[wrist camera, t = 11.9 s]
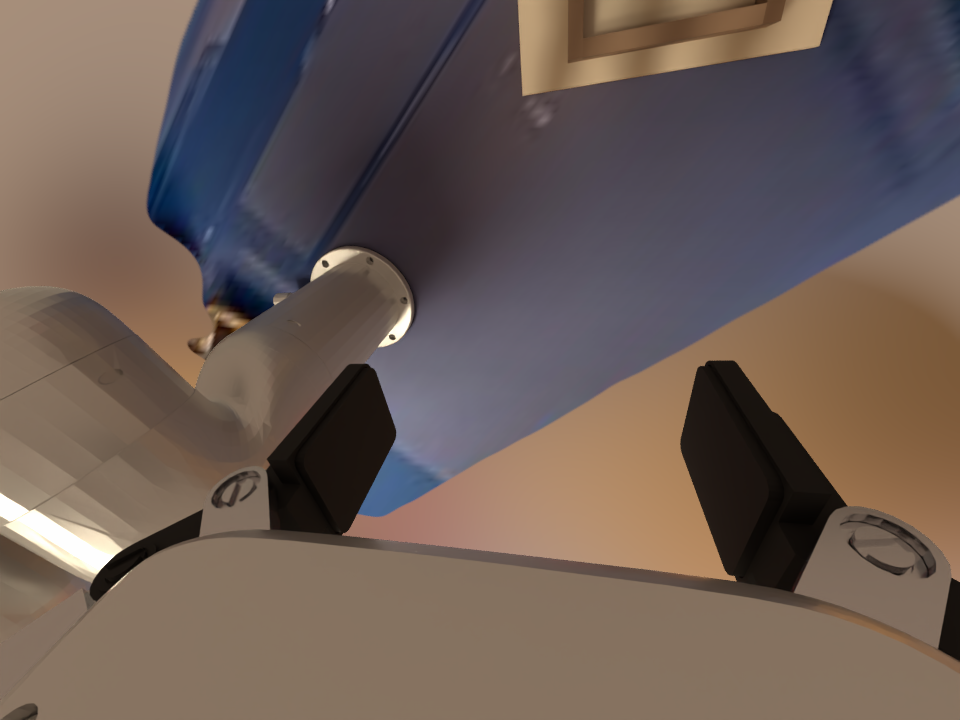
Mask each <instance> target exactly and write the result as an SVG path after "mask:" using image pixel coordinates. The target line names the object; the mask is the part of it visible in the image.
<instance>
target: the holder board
mask: <svg viewBox="0 0 960 720" xmlns="http://www.w3.org/2000/svg"><path fill="white" fill-rule="evenodd" d="M832 1H833V0H518V12H519V33H520V53H521V73H522V94H523V96H527V95H533V94H539V93H545V92H551V91H557V90H563V89H569V88H575V87H581V86H587V85H593V84H599V83H605V82H611V81H617V80H623V79H629V78H635V77H641V76H647V75H653V74H659V73H665V72H671V71H677V70H683V69H689V68H695V67H701V66H707V65H713V64H719V63H725V62H731V61H737V60H743V59H749V58H756V57H762V56H768V55H774V54H780V53H786V52H792V51H798V50H804V49H810V48H814V47H818V46H819V45H820V42H821V39H822V35H823V32H824V28H825V25H826V22H827V18H828V15H829V11H830V8H831V5H832Z"/></svg>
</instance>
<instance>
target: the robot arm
mask: <svg viewBox="0 0 960 720" xmlns="http://www.w3.org/2000/svg"><path fill="white" fill-rule="evenodd" d="M372 259H373V260H372ZM273 302H274V306H273V307H271V308H270V309H268V310H267V311H265V312H264V313H262V314H261V315H259V316H258V317H256V318H255V319H253V320H251V321H250V322H248V323H247V324H245V325H244V326H242V327H241V328H239V329H238V330H236V331H235V332H233V333H232V334H230V335H229V336H227V337H226V338H224V339H223V340H222V341H221V342H220V343H219V344H218V345H217V346H216V347H215V348H214V349H213V350H212V351H211V353H210V354H209V356H208V357H207V359H206V361H205V362H204V364H203V367H202V369H201V371H200V374H199V377H198V380H197V383H196V387H195V389H194V388H193V387H192V386H191V385H190V384H189V383H188V382H186V381H185V380H184V379H183V378H182V377H181V376H180V375H179V374H178V373H177V372H176V371H175V370H174V369H173V368H172V367H170V366H169V365H168V364H167V363H166V362H165V361H164V360H163V359H162V358H161V357H160V356H159V355H158V354H157V353H156V352H155V351H154V350H153V349H152V348H150V347H149V346H148V345H147V344H146V343H145V342H144V341H143V340H142V339H141V338H140V337H139V336H138V335H136V334H135V333H134V332H133V331H132V330H131V329H129V328H128V327H127V326H126V325H125V324H124V323H123V322H122V321H121V320H119V319H118V318H117V317H116V316H115V315H113V314H112V313H111V312H110V311H109V310H107V309H106V308H105V307H103V306H102V305H100V304H99V303H97V302H96V301H94V300H92V299H90V298H89V297H86V296H84V295H82V294H79V293H77V292H74V291H71V290H67V289H63V288H56V287H49V286H37V287H36V286H30V287H21V288H13V289H7V290H3V291H0V720H960V582H958V581H957V580H954V579H953V578H951V569H950V564H949V562H948V561H947V559H946V557H945V556H944V554H943V553H942V551H941V550H940V549H939V548H938V547H937V546H936V545H935V544H934V543H933V542H932V541H931V540H930V539H929V538H928V537H926V536H925V535H924V534H922V533H921V532H920V531H918V530H917V529H915V528H914V527H913V526H911V525H909V524H907V523H905V522H903V521H902V520H900V519H898V518H896V517H894V516H891V515H889V514H886V513H883V512H880V511H878V510H874V509H869V508H864V507H857V506H854V507H851V506H849V507H848V506H847V505H846V503H845V502H844V501H843V500H842V498H841V497H840V495H839V494H838V493H837V491H836V490H835V489H834V487H833V486H832V485H831V483H830V482H829V481H828V479H827V478H826V477H825V475H824V474H823V473H822V471H821V470H820V469H819V467H818V466H817V465H816V463H815V462H814V461H813V459H812V458H811V457H810V455H809V454H808V453H807V451H806V450H805V449H804V447H803V446H802V444H801V443H800V442H799V440H798V439H797V438H796V436H795V435H794V434H793V432H792V431H791V430H790V428H789V427H788V426H787V425H786V423H785V422H784V420H783V419H782V418H781V417H780V416H779V415H778V414H776V413H774V412H772V411H771V410H770V408H769V407H768V405H767V404H766V403H765V401H764V400H763V399H762V397H761V396H760V394H759V393H758V392H757V391H756V389H755V388H754V386H753V385H752V383H751V382H750V381H749V379H748V378H747V377H746V376H745V374H744V373H743V371H742V370H741V368H740V367H739V366H738V364H737V363H736V362H735V361H708V362H706V364H705V366H700V367H698V369H697V372H696V376H695V381H694V385H693V389H692V394H691V398H690V402H689V407H688V411H687V415H686V419H685V424H684V428H683V432H682V436H681V443H680V445H681V451H682V455H683V458H684V460H685V463H686V465H687V468H688V471H689V474H690V477H691V479H692V482H693V485H694V487H695V490H696V493H697V496H698V498H699V501H700V504H701V506H702V509H703V512H704V515H705V517H706V520H707V523H708V525H709V528H710V531H711V534H712V536H713V539H714V542H715V544H716V547H717V550H718V552H719V555H720V558H721V561H722V564H723V566H724V569H725V571H726V572H727V574H729V575H732V576H735V578H736V580H737V582H735V581H728V580H721V579H713V578H706V577H698V576H690V575H683V574H676V573H668V572H660V571H653V570H644V569H636V568H627V567H619V566H610V565H602V564H592V563H584V562H576V561H568V560H558V559H551V558H542V557H533V556H524V555H516V554H506V553H498V552H489V551H479V550H471V549H461V548H452V547H443V546H435V545H426V544H417V543H407V542H398V541H388V540H379V539H369V538H360V537H350V536H342V534H343V533H345V532H347V531H348V530H349V528H350V527H351V525H352V523H353V521H354V519H355V517H356V515H357V513H358V511H359V509H360V507H361V505H362V503H363V501H364V500H365V498H366V496H367V494H368V492H369V490H370V488H371V486H372V484H373V482H374V480H375V478H376V476H377V474H378V472H379V470H380V468H381V466H382V464H383V462H384V460H385V459H386V457H387V455H388V453H389V451H390V449H391V447H392V445H393V443H394V441H395V438H396V428H395V425H394V423H393V420H392V417H391V414H390V411H389V408H388V405H387V403H386V400H385V397H384V394H383V391H382V388H381V385H380V383H379V380H378V377H377V374H376V371H375V370H374V369H373V368H371V367H370V366H369V365H368V364H364V363H365V362H366V361H367V360H368V358H369V357H370V356H371V355H372V353H373V352H374V351H375V350H376V349H377V348H378V347H385V346H388V345H392V344H393V343H395V342H397V341H399V340H400V339H401V338H402V337H403V336H404V335H405V333H406V332H407V331H408V329H409V328H410V325H411V323H412V321H413V316H414V300H413V295H412V292H411V290H410V287H409V285H408V283H407V281H406V280H405V278H404V276H403V275H402V274H401V273H400V271H399V270H398V269H397V268H396V267H395V266H394V265H393V264H392V263H391V262H390V261H389V260H387V259H386V258H384V257H383V256H381V255H380V254H378V253H376V252H374V251H371V250H369V249H366V248H362V247H357V246H345V247H339V248H336V249H334V250H332V251H330V252H328V253H327V254H325V255H323V256H322V257H321V258H320V259H319V260H318V261H317V262H316V264H315V266H314V268H313V270H312V274H311V278H310V283H308V284H307V285H305V286H304V287H302V288H301V289H299V290H298V291H296V292H294V293H277V294H276V295H275V296H274V298H273Z"/></svg>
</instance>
